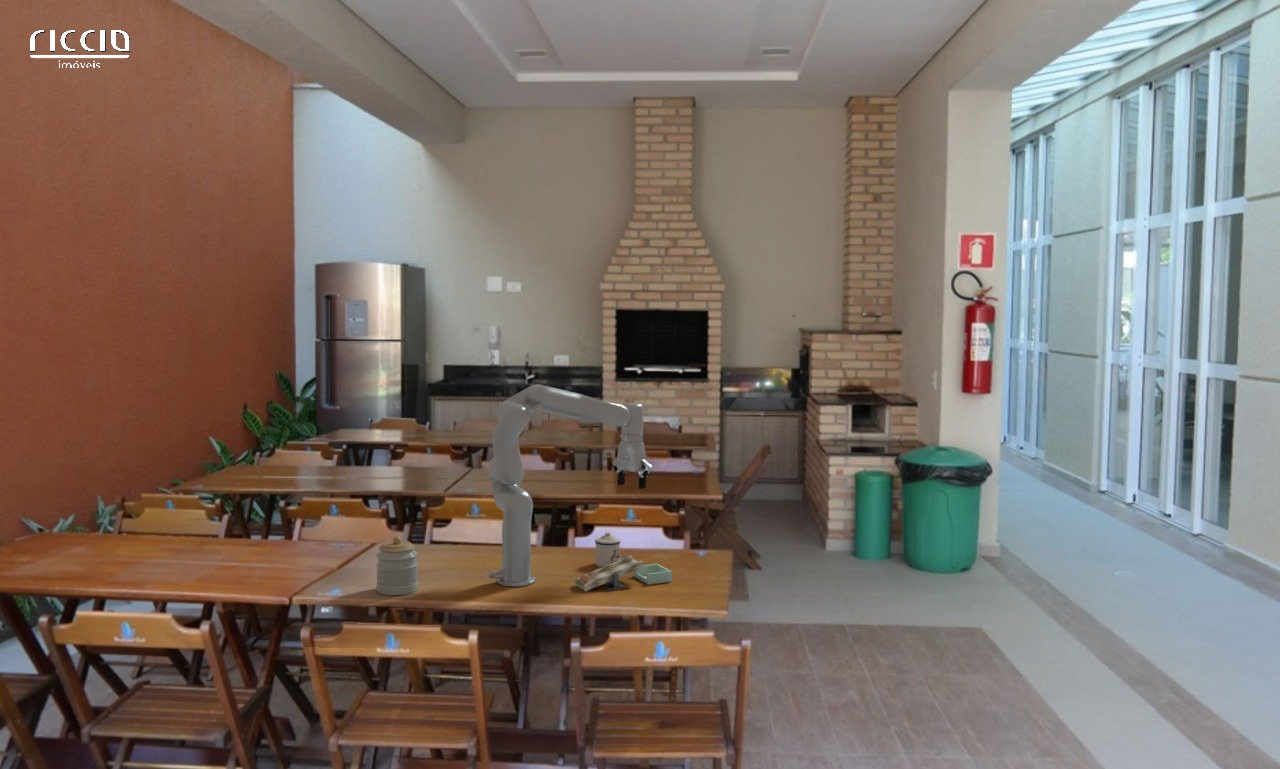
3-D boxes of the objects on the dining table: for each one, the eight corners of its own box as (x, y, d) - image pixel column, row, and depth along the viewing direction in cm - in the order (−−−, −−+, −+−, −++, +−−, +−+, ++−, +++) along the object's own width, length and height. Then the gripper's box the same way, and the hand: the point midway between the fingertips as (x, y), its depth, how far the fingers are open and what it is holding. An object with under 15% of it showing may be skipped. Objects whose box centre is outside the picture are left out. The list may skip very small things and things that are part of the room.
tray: (647, 584, 314) (647, 574, 314) (633, 576, 323) (633, 566, 323) (671, 581, 318) (671, 571, 318) (657, 573, 327) (657, 563, 327)
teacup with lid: (614, 569, 332) (615, 536, 332) (591, 566, 335) (591, 534, 335) (626, 560, 344) (626, 529, 343) (603, 558, 347) (603, 527, 346)
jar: (407, 597, 297) (407, 542, 295) (369, 594, 299) (368, 540, 298) (424, 585, 309) (424, 532, 308) (387, 583, 312) (386, 530, 310)
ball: (583, 585, 307) (581, 576, 307) (579, 583, 310) (577, 574, 309) (592, 582, 309) (590, 573, 308) (588, 580, 311) (586, 571, 311)
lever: (585, 591, 305) (583, 584, 304) (570, 581, 317) (568, 574, 316) (644, 566, 314) (642, 559, 314) (626, 557, 326) (625, 550, 325)
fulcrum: (609, 590, 307) (609, 576, 306) (594, 581, 317) (594, 567, 317) (625, 588, 309) (625, 574, 309) (610, 578, 320) (610, 565, 320)
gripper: (606, 437, 333) (606, 485, 334) (644, 441, 322) (643, 491, 323) (620, 435, 339) (620, 482, 340) (658, 439, 328) (657, 488, 329)
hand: (631, 486), depth 332 cm, fingers open, 9 cm apart
